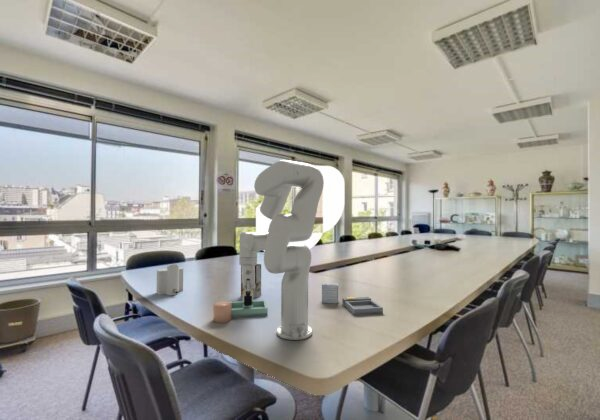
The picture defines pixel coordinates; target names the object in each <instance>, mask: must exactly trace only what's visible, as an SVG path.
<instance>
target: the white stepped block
mask: <svg viewBox="0 0 600 420" xmlns="http://www.w3.org/2000/svg"><path fill="white" fill-rule="evenodd" d="M179 291H180V292H184V268H183V267H180V264H176V263H175V264H168V265H167V266H166V268H163V269H156V294H157V295H158V296H160V295H166V296H176V295H177V294H178V293H180V292H179Z"/></svg>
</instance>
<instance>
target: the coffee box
mask: <svg viewBox="0 0 600 420" xmlns="http://www.w3.org/2000/svg"><path fill="white" fill-rule="evenodd" d="M243 290H245V289H243V281H242V265H240V297H242V298H243ZM251 290H253V299H255V298H256V299H257V298H259V297H260V296H262V264H261V263H257V264H256V265H255V288H254V289H253V288H252V287H251Z"/></svg>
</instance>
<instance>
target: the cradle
mask: <svg viewBox="0 0 600 420" xmlns="http://www.w3.org/2000/svg"><path fill="white" fill-rule="evenodd" d="M341 300H342V306H343V307H344V308H345V309H346V310H348V311H349V313H351V314H352V315H353V316H364V315H365V316H366V315H367V316H368V315H379V314H382V315H383V314H384V307H383V306H382V305H379V304H378V303H377V302H376V301H374V300H372V298H371V297H369V296H363V297H361V296H359V297H358V296H357V297H356V296H355V297H354V296H352V297H349V296H348V297H343V298H342V299H341Z"/></svg>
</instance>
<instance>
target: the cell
mask: <svg viewBox="0 0 600 420" xmlns="http://www.w3.org/2000/svg"><path fill="white" fill-rule="evenodd" d="M246 291H247V290H246ZM244 296H245V290H243V297H242V302H243V309H246V308H253V301H254V298H253V290H251V296H252V305H251V306H244Z"/></svg>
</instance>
